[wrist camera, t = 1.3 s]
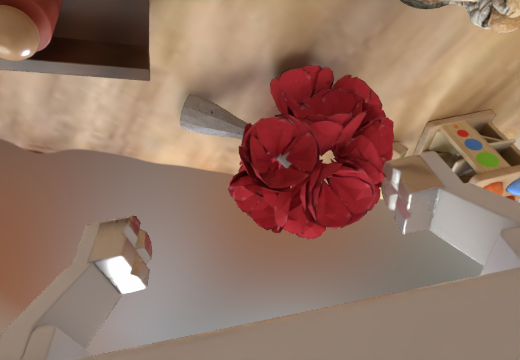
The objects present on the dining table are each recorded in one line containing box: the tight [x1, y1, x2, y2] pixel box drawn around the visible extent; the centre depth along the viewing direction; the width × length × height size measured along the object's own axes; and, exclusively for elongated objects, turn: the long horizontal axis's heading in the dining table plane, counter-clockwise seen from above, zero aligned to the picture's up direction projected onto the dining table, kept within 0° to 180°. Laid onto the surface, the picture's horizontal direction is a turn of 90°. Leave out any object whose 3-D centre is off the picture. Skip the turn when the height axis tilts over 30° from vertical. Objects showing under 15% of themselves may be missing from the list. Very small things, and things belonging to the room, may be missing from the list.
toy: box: [0, 0, 64, 61], centre depth 23 cm, size 4×4×10 cm
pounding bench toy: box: [392, 110, 520, 202], centre depth 67 cm, size 23×14×18 cm, turn 92°
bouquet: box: [180, 65, 394, 239], centre depth 49 cm, size 22×24×30 cm
